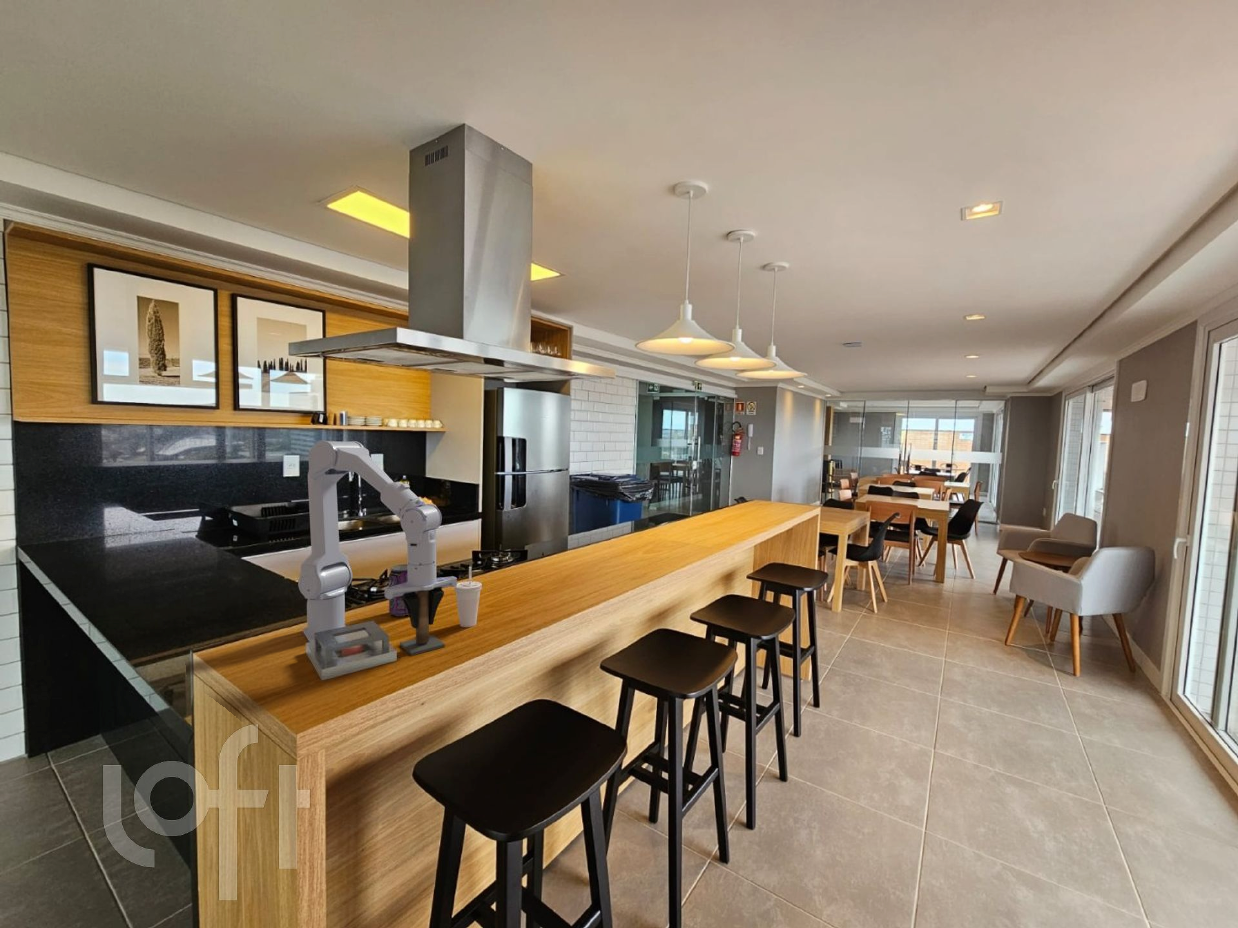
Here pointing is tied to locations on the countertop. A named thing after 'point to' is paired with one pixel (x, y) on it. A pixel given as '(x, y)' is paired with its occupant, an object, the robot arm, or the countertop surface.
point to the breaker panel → (350, 660)
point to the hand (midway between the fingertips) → (422, 625)
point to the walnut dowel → (423, 617)
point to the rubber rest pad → (422, 645)
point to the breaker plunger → (351, 651)
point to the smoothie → (468, 601)
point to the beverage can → (395, 578)
